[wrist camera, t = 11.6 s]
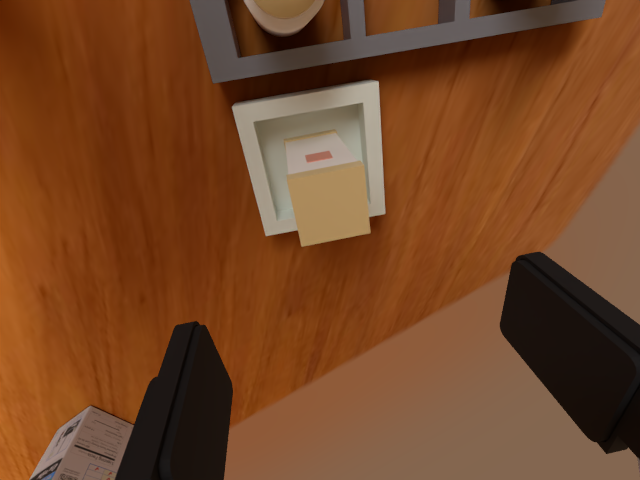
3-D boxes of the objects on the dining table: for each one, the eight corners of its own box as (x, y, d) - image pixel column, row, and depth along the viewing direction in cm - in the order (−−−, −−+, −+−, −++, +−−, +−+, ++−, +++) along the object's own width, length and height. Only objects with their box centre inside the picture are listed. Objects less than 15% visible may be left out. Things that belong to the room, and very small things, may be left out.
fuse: (283, 138, 26) (286, 180, 17) (335, 129, 26) (364, 165, 17) (293, 188, 28) (301, 246, 19) (341, 178, 28) (370, 233, 20)
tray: (266, 223, 30) (265, 236, 28) (235, 102, 25) (231, 106, 23) (377, 202, 30) (385, 213, 28) (369, 79, 25) (378, 81, 23)
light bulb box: (56, 428, 40) (-10, 540, 31) (90, 402, 39) (31, 512, 29) (132, 458, 45) (94, 563, 36) (165, 436, 44) (134, 540, 34)
